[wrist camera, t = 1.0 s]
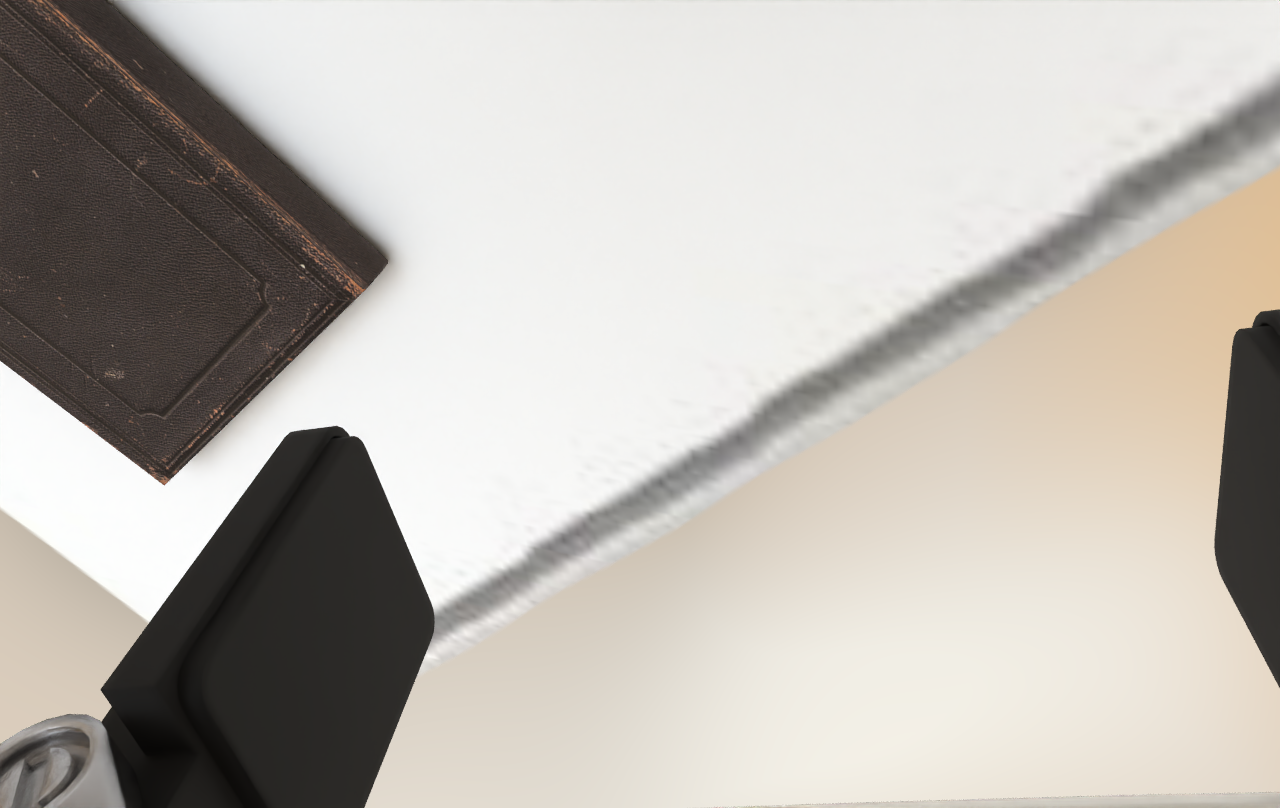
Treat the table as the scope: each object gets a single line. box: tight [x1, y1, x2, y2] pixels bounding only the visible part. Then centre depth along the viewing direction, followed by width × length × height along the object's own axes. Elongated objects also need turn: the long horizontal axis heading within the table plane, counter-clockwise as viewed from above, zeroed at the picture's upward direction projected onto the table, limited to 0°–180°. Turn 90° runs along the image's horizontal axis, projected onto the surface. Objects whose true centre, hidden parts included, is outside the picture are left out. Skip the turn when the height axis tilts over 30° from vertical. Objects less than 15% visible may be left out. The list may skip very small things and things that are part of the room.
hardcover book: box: [0, 0, 388, 485], centre depth 41 cm, size 16×23×2 cm
